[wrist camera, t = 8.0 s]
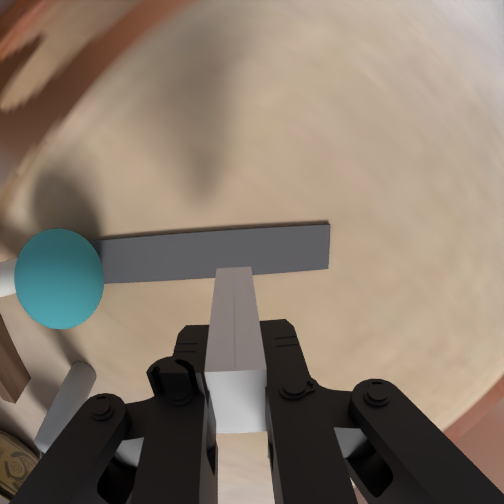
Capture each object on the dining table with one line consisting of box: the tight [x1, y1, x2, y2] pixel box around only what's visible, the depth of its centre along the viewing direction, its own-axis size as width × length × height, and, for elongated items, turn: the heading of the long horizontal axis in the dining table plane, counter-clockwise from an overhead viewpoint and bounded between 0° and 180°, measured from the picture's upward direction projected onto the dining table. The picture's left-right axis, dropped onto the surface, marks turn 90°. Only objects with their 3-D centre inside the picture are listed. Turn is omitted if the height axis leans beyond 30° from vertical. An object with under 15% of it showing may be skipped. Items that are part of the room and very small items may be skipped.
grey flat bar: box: [88, 224, 330, 284], centre depth 18 cm, size 16×3×1 cm, turn 92°
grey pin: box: [34, 361, 96, 453], centre depth 16 cm, size 2×2×9 cm
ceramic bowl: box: [0, 430, 39, 502], centre depth 18 cm, size 22×17×15 cm
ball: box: [14, 228, 104, 329], centre depth 14 cm, size 6×6×6 cm
